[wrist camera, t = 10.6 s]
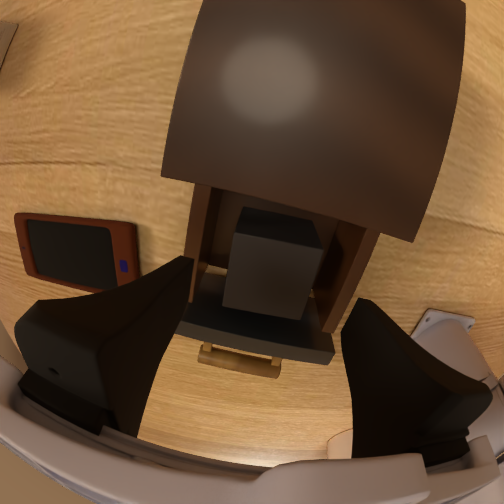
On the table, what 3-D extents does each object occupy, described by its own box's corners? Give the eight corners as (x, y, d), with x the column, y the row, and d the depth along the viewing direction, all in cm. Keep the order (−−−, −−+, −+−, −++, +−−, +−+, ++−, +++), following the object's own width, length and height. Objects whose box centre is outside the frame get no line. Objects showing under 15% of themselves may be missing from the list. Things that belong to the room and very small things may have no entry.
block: (295, 280, 19) (300, 320, 15) (232, 268, 19) (221, 306, 15) (312, 220, 17) (324, 250, 13) (243, 205, 17) (233, 231, 13)
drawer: (300, 347, 23) (304, 401, 18) (182, 321, 23) (162, 371, 18) (376, 155, 16) (418, 170, 11) (218, 110, 16) (193, 103, 10)
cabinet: (365, 200, 18) (412, 243, 11) (202, 156, 18) (160, 176, 11) (408, 33, 12) (466, 3, 6) (249, -17, 12) (236, -77, 5)
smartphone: (139, 304, 22) (25, 276, 22) (143, 298, 23) (30, 272, 23) (131, 225, 19) (11, 214, 19) (136, 221, 20) (17, 211, 20)
